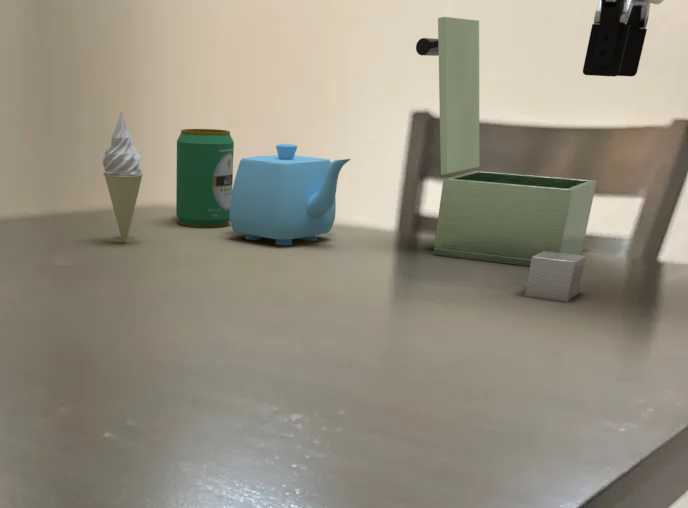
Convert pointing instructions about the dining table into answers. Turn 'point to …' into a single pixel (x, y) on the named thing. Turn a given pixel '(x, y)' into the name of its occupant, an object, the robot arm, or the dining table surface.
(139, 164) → the ice cream cone
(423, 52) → the lid
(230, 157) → the beverage can
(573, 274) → the block
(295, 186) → the teapot
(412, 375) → the dining table surface
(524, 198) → the green open box
